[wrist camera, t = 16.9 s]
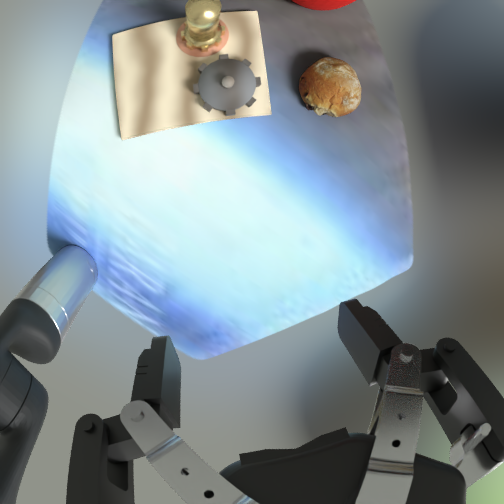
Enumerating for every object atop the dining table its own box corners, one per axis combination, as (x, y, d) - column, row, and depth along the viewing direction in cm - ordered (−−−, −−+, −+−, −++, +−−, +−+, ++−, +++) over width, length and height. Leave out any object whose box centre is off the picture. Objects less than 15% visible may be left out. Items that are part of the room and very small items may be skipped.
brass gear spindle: (183, 55, 30) (177, 31, 21) (180, 22, 28) (174, -8, 18) (226, 49, 31) (233, 24, 22) (222, 17, 28) (228, -14, 19)
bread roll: (345, 108, 42) (380, 98, 35) (314, 131, 39) (353, 120, 32) (316, 62, 38) (350, 46, 31) (280, 78, 35) (316, 58, 28)
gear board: (124, 139, 35) (114, 140, 31) (115, 37, 28) (105, 27, 23) (269, 115, 37) (277, 112, 33) (255, 14, 30) (261, 1, 25)
